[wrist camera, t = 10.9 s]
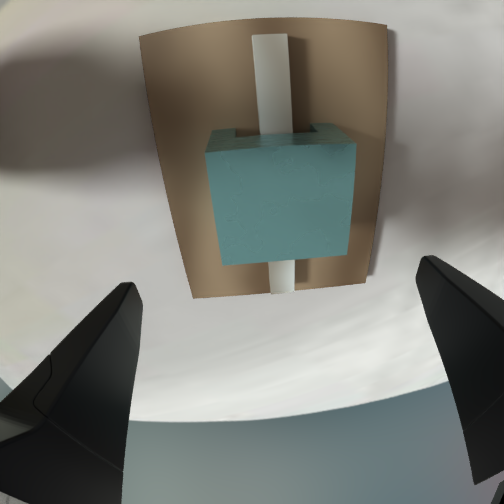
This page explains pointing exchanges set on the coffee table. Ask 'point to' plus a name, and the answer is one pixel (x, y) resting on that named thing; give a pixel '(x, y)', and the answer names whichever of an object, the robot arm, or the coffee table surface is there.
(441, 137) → the coffee table surface
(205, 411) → the coffee table surface
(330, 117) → the rail plate
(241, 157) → the block
